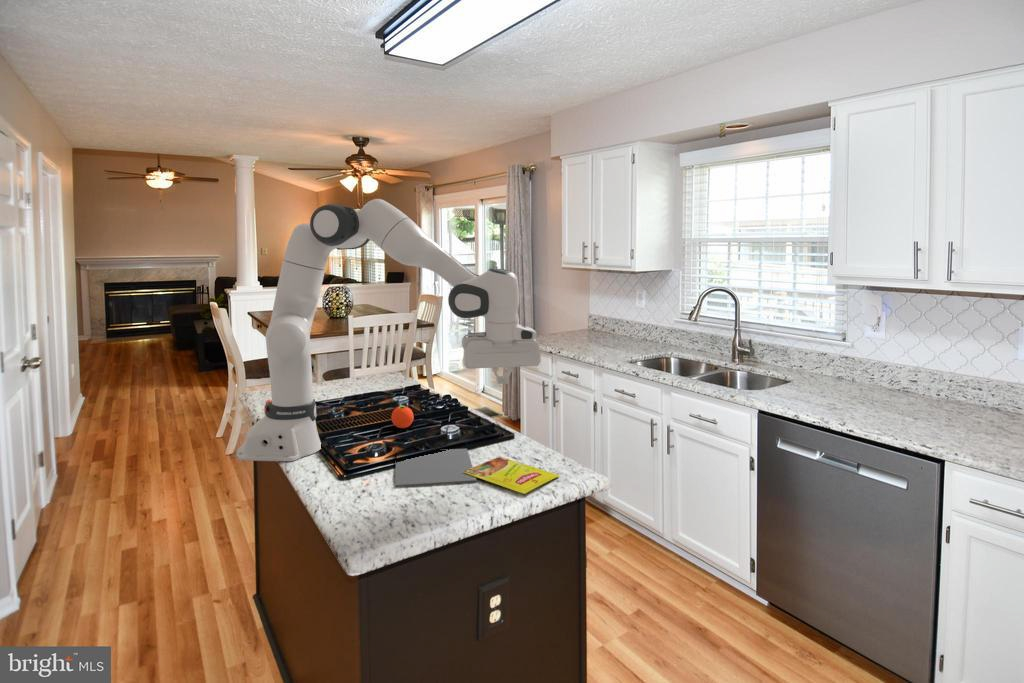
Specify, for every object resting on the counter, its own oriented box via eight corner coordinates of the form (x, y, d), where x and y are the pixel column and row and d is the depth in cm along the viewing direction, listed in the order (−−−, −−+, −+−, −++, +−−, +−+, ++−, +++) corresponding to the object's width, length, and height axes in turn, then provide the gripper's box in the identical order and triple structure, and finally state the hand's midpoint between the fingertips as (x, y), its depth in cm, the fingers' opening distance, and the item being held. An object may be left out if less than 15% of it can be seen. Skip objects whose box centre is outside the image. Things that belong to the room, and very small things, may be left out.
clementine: (389, 424, 199) (388, 403, 197) (410, 422, 201) (410, 401, 200) (393, 432, 191) (393, 410, 190) (415, 430, 194) (415, 408, 192)
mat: (395, 487, 152) (395, 485, 152) (395, 454, 174) (395, 452, 174) (476, 482, 156) (476, 480, 156) (467, 450, 177) (467, 448, 177)
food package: (500, 454, 172) (560, 473, 160) (500, 458, 172) (560, 477, 160) (462, 470, 160) (524, 491, 148) (462, 474, 160) (524, 496, 148)
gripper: (463, 335, 156) (464, 388, 159) (542, 332, 160) (541, 384, 162) (460, 330, 162) (461, 381, 165) (537, 328, 166) (536, 378, 168)
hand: (502, 383), depth 164 cm, fingers closed
